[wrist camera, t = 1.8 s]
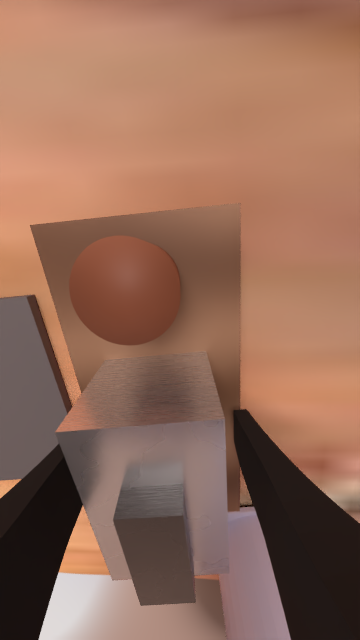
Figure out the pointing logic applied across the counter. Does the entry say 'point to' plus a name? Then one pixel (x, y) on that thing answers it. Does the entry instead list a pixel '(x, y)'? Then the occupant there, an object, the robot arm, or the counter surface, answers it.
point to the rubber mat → (27, 389)
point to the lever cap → (153, 471)
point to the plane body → (152, 295)
